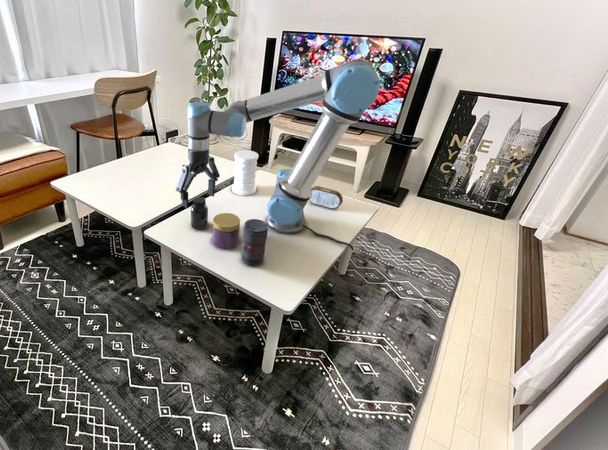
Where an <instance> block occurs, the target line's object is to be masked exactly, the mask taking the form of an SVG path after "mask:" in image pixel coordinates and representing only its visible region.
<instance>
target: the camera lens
mask: <svg viewBox="0 0 608 450" xmlns="http://www.w3.org/2000/svg"><path fill="white" fill-rule="evenodd" d="M242 229H243V230H242V240H241V257H242V262H243V263H244V264H245V265H246V266H250V267H258V266H259V265H261V264H262V262H263V260H264V257H265V252H266V244H267V239H268V232H269V226H268V224H267V222H265V221H264V220H261V219H257V218H250V219H247V220H246V221H245V222H244V225H243V228H242Z"/></svg>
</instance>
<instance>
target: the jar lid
mask: <svg viewBox="0 0 608 450" xmlns="http://www.w3.org/2000/svg"><path fill="white" fill-rule="evenodd" d="M213 226H214V227H215V228H216V229H217V230H219V231H223V232H231V231H235V230H237V229H238V228H239V226H240V227H241V218H240V217H239V216H238V215H236V214H234V213H230V212H223V213H221V212H220V213H218V214H216V215H214V217H213V219H212V227H213Z"/></svg>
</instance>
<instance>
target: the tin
mask: <svg viewBox="0 0 608 450" xmlns="http://www.w3.org/2000/svg"><path fill="white" fill-rule="evenodd" d="M310 189H311V192H312V196H311V197H310V199H309V200H308V202H310V203H311V204H313V205H316V206H320V207H322V208H326V209H329V210H336V209H338V208H339V207H340V206H341V205H342V204H343V200H344V198H343V195H342V194H341V193H340V191H338V190H335V189H332V188H327V187H323V186H320V185H315V186H312V187H311V188H310Z"/></svg>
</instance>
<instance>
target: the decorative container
mask: <svg viewBox="0 0 608 450" xmlns="http://www.w3.org/2000/svg"><path fill="white" fill-rule="evenodd" d="M259 157H260V156H259V153H258V152H257V151H253V150H246V149H245V150H244V149H243V150H238V151H236V152H235V153H234V164H235V166H234V174H233V175H234V179H233V183H234V184H233V185H232V187H231V190H232V192H233V193H234V194H237V195H239V196H251V195H255V194H256V191H257V187H256V177H257V176H256V175H257V174H256V172H257V165H258V160H259Z"/></svg>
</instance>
